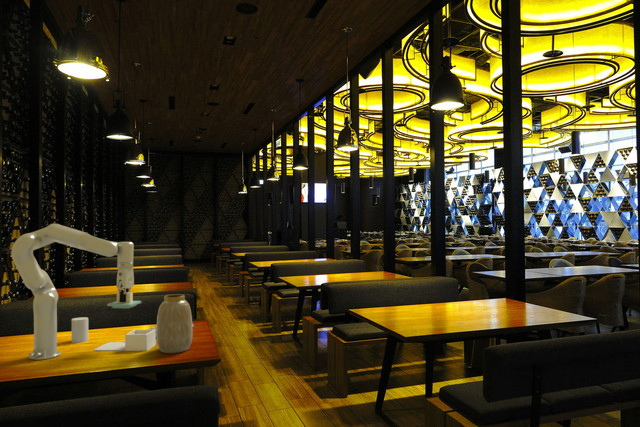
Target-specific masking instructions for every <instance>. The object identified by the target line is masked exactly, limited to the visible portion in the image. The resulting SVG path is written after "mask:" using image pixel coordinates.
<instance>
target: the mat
mask: <svg viewBox="0 0 640 427" xmlns="http://www.w3.org/2000/svg"><path fill="white" fill-rule="evenodd" d="M93 351H94V352H103V351H104V352H120V351H122V352H123V351H125V341H124V342H122V341H115V342H114V341H110V342H107V343H106V342H105V344H102V345H100V346H97V347H96V348H94V349H93Z"/></svg>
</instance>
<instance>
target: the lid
mask: <svg viewBox="0 0 640 427" xmlns="http://www.w3.org/2000/svg"><path fill="white" fill-rule="evenodd" d="M125 294H126V302H119V299H120V294H119V292H116V301H113V302H109V303H106V304H107V307H111V308H112V309H130V308H134V307H136V306H137V305H139V304H142V300H133V299H134V298H133V297H134V293H133V291H132V292H131V291H130V292H126V293H125Z"/></svg>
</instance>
